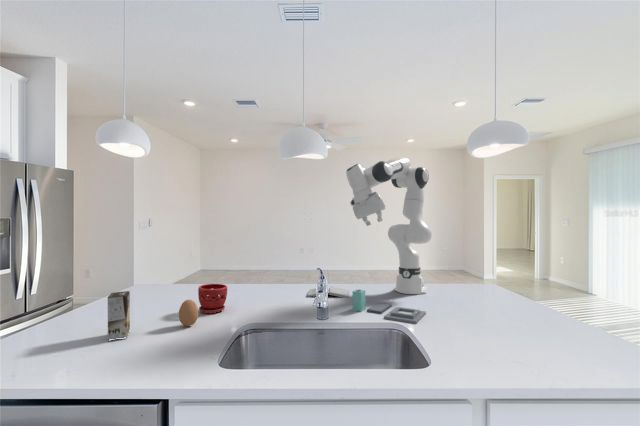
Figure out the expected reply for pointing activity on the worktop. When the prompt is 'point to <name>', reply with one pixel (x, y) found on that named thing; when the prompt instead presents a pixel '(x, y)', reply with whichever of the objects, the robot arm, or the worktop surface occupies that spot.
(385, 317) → the plate
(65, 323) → the worktop surface
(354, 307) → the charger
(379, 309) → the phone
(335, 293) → the gadget
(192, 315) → the egg
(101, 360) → the worktop surface
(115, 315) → the coffee box
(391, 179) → the robot arm
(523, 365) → the worktop surface
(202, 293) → the plant pot
